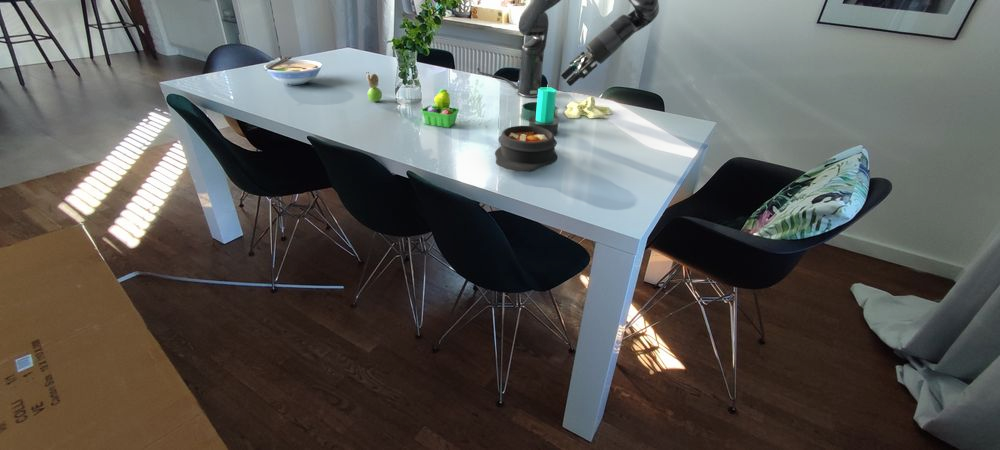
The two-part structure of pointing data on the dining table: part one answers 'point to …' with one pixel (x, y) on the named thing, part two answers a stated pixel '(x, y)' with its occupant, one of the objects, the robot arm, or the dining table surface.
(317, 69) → the ramen bowl
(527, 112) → the tin
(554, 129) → the stand
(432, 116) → the fruit basket
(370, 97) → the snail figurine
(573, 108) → the cloth
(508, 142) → the casserole
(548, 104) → the candle
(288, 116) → the dining table surface
